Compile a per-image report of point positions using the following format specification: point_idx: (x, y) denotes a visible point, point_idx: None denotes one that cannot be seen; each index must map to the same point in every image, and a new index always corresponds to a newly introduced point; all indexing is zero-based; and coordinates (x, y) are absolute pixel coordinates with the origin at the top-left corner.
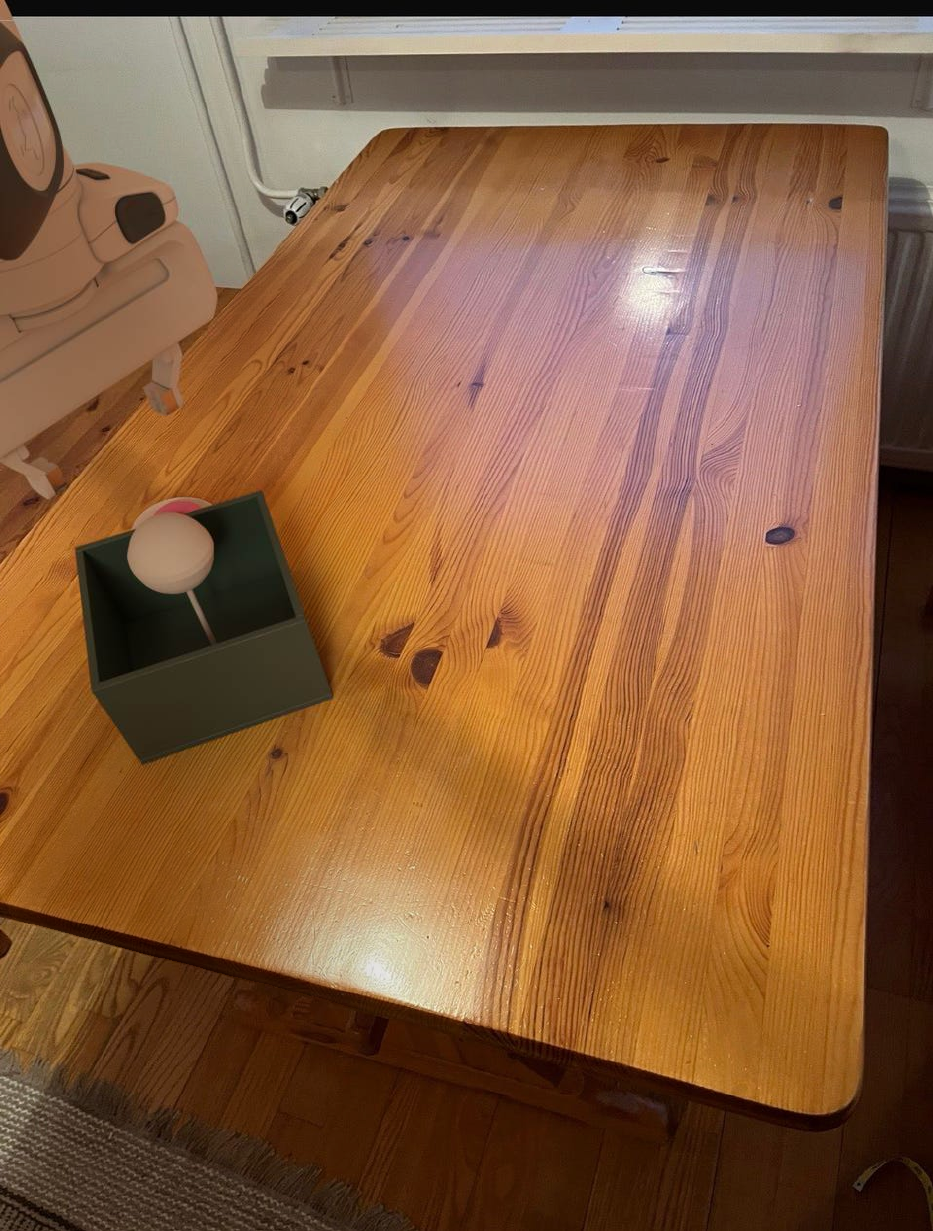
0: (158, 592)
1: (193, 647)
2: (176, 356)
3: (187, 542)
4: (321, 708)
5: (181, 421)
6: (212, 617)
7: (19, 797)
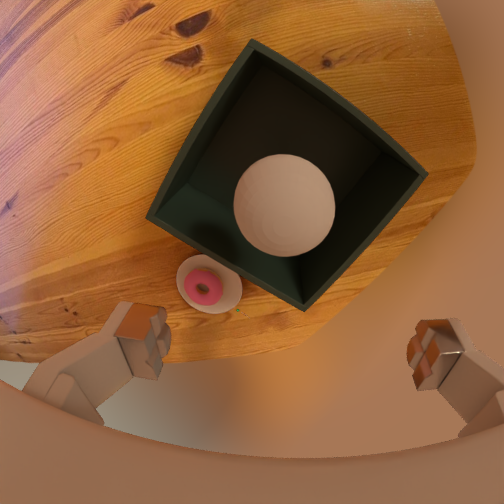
0: None
1: None
2: (50, 370)
3: (277, 178)
4: None
5: None
6: None
7: (435, 208)
